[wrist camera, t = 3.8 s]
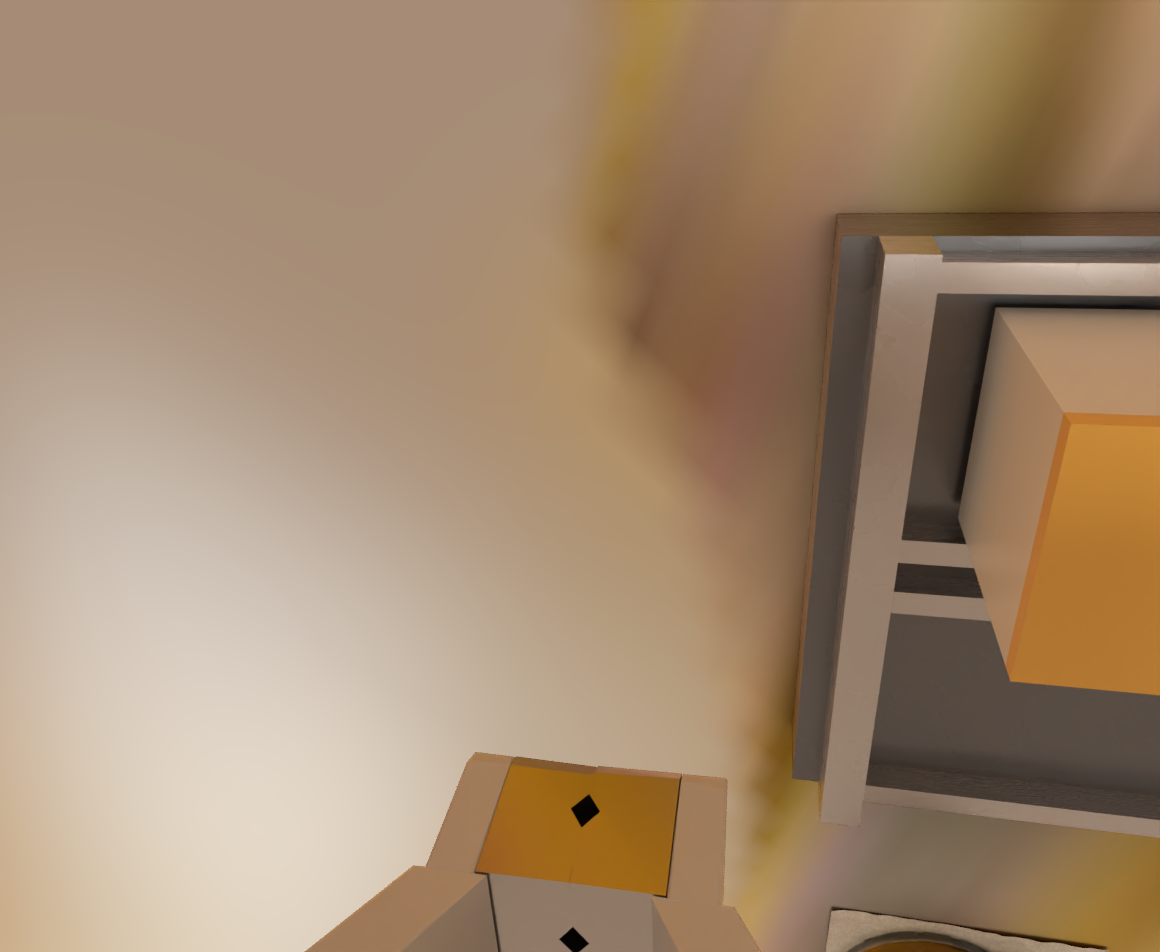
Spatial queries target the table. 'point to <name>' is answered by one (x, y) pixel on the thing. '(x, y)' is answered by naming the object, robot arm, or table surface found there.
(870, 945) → the condiment
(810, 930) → the table surface
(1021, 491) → the fader
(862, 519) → the grey tray
